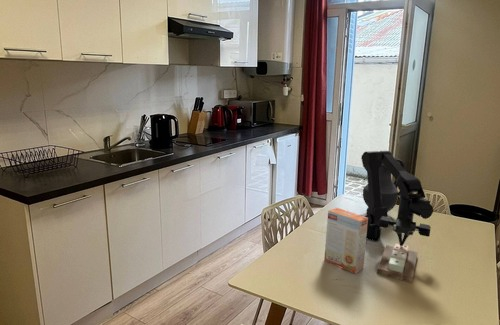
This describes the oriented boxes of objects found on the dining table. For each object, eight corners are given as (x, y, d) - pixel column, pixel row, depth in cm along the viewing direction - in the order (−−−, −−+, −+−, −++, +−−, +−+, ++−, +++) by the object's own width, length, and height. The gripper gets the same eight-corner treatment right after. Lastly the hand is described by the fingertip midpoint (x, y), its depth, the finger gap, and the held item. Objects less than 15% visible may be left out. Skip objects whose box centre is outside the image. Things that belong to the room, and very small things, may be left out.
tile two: (390, 261, 139) (391, 255, 139) (392, 256, 143) (393, 249, 143) (404, 264, 137) (405, 258, 136) (406, 259, 141) (406, 252, 141)
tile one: (388, 269, 133) (388, 262, 132) (389, 263, 137) (390, 257, 137) (402, 273, 131) (403, 266, 130) (404, 267, 135) (405, 260, 135)
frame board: (376, 273, 134) (377, 268, 133) (385, 249, 153) (386, 245, 152) (412, 282, 128) (412, 277, 128) (416, 256, 147) (417, 252, 147)
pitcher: (355, 209, 198) (360, 156, 191) (388, 207, 203) (394, 155, 196) (372, 221, 182) (379, 163, 175) (408, 219, 187) (416, 162, 180)
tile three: (393, 253, 145) (393, 247, 145) (394, 249, 149) (395, 242, 149) (406, 257, 143) (407, 250, 142) (407, 251, 147) (408, 245, 147)
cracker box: (363, 269, 137) (369, 217, 132) (354, 274, 133) (360, 221, 128) (332, 255, 147) (336, 206, 142) (323, 259, 143) (327, 209, 138)
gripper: (378, 210, 139) (373, 248, 143) (431, 220, 131) (425, 260, 134) (382, 202, 149) (378, 237, 152) (433, 211, 140) (427, 248, 144)
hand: (401, 245), depth 145 cm, fingers closed
